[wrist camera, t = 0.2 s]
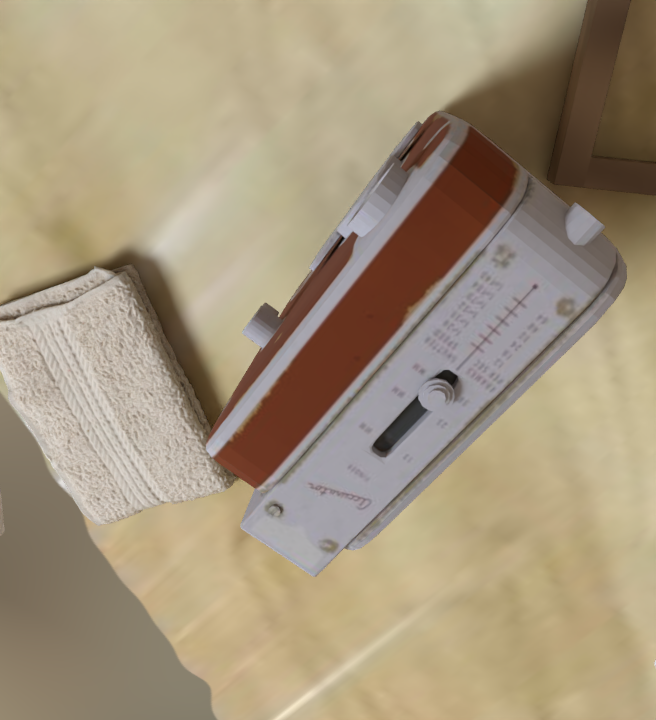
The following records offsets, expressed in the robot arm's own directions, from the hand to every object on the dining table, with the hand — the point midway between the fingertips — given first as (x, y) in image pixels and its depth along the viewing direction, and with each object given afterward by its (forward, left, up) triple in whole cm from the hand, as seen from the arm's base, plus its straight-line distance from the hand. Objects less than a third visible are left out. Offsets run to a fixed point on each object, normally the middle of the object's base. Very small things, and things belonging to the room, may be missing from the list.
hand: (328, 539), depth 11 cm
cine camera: (+3, 0, -28) cm, 28 cm away
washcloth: (+14, -17, -28) cm, 36 cm away
